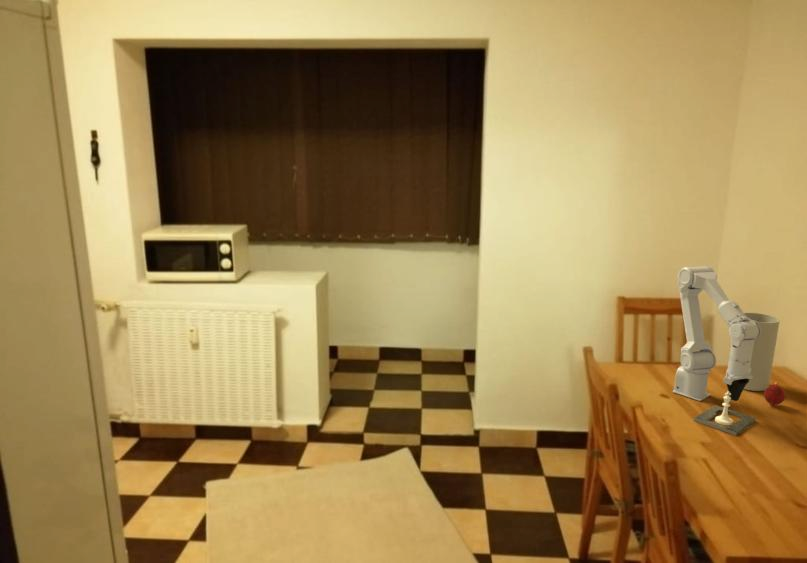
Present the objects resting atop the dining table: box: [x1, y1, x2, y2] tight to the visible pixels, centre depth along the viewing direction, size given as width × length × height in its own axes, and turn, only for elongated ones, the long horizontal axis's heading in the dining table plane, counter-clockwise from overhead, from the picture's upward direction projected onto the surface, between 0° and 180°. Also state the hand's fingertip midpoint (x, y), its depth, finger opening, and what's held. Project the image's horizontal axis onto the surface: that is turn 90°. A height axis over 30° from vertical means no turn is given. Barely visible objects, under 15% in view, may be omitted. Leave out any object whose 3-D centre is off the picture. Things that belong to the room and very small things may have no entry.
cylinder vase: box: [743, 312, 780, 392], centre depth 197 cm, size 12×12×25 cm
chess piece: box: [714, 390, 734, 426], centre depth 171 cm, size 5×5×10 cm
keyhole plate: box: [693, 404, 757, 437], centre depth 172 cm, size 14×12×1 cm
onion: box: [763, 382, 786, 406], centre depth 182 cm, size 6×6×8 cm
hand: (733, 399), depth 174 cm, fingers closed
